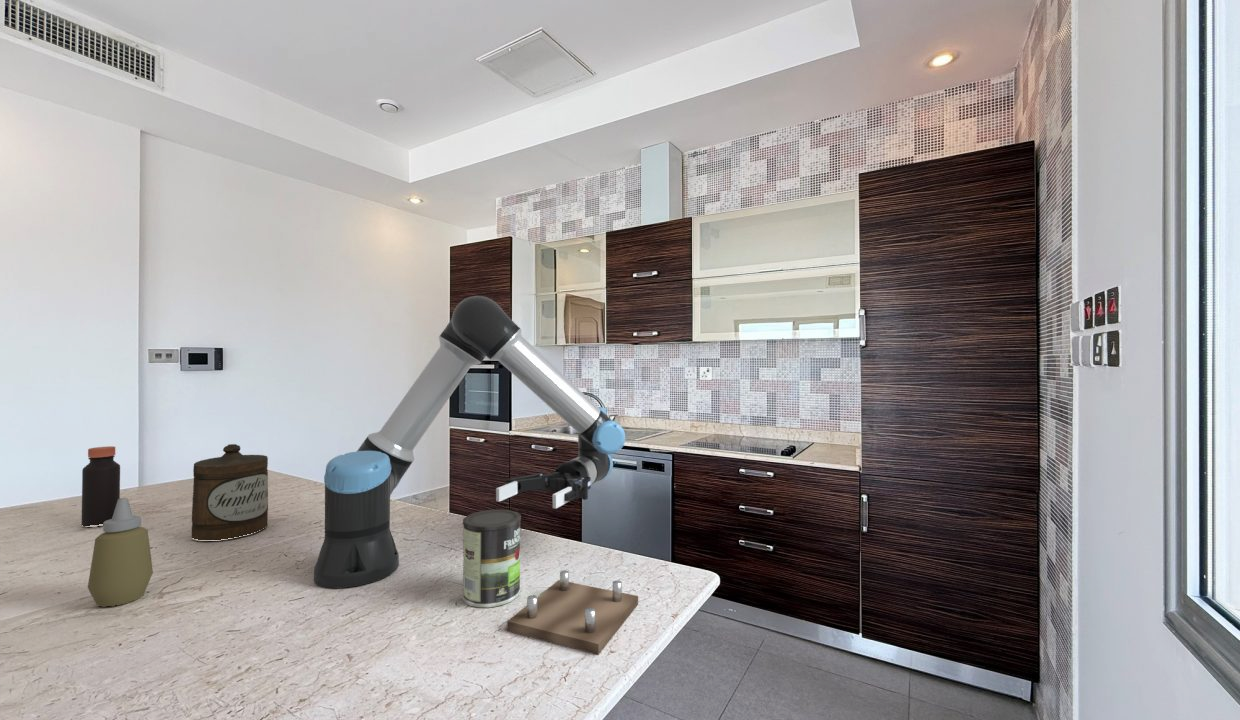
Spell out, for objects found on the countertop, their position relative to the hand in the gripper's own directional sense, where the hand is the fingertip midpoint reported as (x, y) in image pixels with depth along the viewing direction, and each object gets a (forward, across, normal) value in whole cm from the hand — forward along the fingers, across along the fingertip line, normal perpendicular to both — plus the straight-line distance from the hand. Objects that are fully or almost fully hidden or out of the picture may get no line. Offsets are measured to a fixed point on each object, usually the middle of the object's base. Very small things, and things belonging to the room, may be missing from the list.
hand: (525, 498), depth 98 cm
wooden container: (+9, +82, -14) cm, 83 cm away
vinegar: (+19, +120, -14) cm, 122 cm away
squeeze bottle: (+38, +60, -14) cm, 72 cm away
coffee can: (+10, 0, -15) cm, 18 cm away
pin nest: (+11, -18, -15) cm, 26 cm away
